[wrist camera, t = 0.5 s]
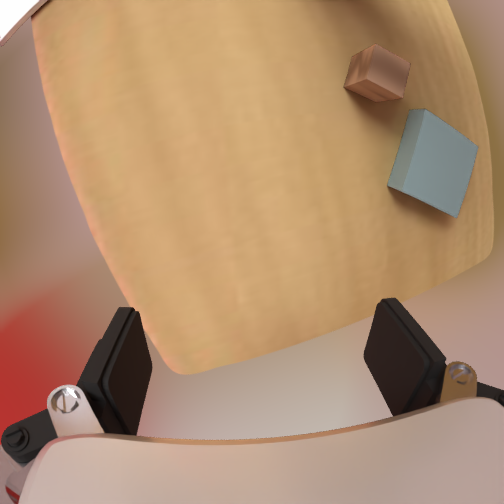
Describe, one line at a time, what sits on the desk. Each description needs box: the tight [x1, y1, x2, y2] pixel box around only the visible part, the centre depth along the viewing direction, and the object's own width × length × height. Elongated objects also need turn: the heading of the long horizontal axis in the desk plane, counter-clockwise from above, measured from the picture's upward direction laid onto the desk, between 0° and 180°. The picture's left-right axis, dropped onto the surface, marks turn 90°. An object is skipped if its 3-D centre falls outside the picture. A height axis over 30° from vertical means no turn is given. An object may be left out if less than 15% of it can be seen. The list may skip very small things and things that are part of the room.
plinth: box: [387, 109, 478, 218], centre depth 34 cm, size 12×12×4 cm
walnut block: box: [344, 44, 411, 102], centre depth 28 cm, size 5×5×7 cm
